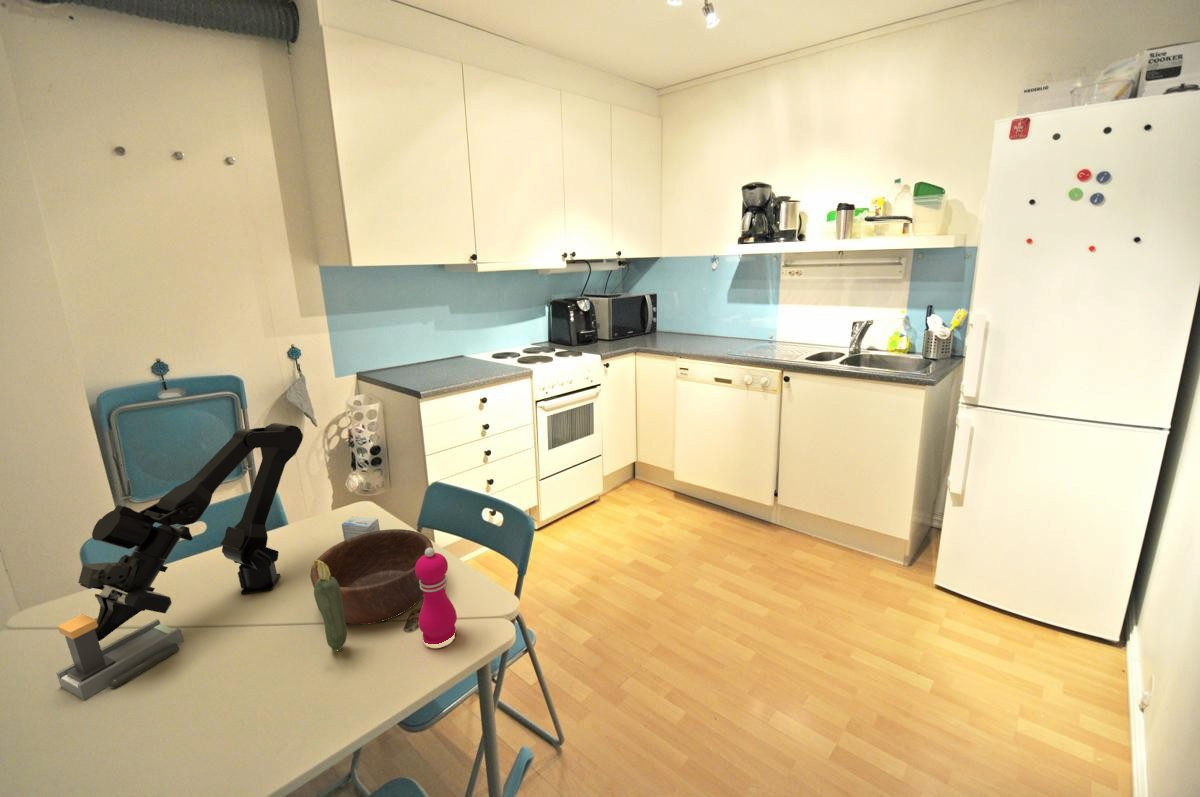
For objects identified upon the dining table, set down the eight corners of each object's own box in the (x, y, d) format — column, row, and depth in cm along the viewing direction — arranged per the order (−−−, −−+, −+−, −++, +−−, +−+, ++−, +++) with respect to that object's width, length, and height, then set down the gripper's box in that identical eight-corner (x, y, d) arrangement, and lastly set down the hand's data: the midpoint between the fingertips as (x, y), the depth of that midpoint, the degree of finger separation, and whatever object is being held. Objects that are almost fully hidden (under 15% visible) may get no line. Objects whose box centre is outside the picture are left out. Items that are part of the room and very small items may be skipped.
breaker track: (153, 628, 113) (150, 616, 112) (190, 644, 108) (187, 631, 107) (54, 683, 99) (49, 669, 98) (91, 704, 94) (86, 689, 93)
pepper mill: (463, 627, 110) (454, 538, 105) (451, 652, 104) (440, 559, 98) (429, 625, 111) (418, 538, 106) (414, 650, 104) (402, 557, 99)
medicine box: (383, 548, 142) (379, 518, 140) (372, 557, 138) (368, 526, 136) (357, 545, 144) (352, 515, 142) (345, 554, 140) (340, 523, 137)
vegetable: (355, 647, 106) (340, 556, 100) (338, 662, 102) (321, 568, 96) (337, 642, 107) (321, 552, 102) (320, 657, 103) (302, 564, 98)
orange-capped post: (101, 657, 102) (86, 611, 99) (115, 664, 100) (101, 617, 97) (67, 675, 97) (51, 628, 95) (82, 683, 95) (66, 635, 93)
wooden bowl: (443, 560, 135) (438, 523, 133) (430, 625, 112) (424, 581, 109) (336, 572, 131) (330, 534, 129) (300, 642, 108) (291, 597, 105)
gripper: (79, 534, 103) (19, 620, 96) (136, 553, 95) (74, 647, 88) (138, 551, 112) (86, 630, 105) (193, 569, 104) (142, 656, 97)
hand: (96, 640), depth 99 cm, fingers closed, pressing on orange-capped post
